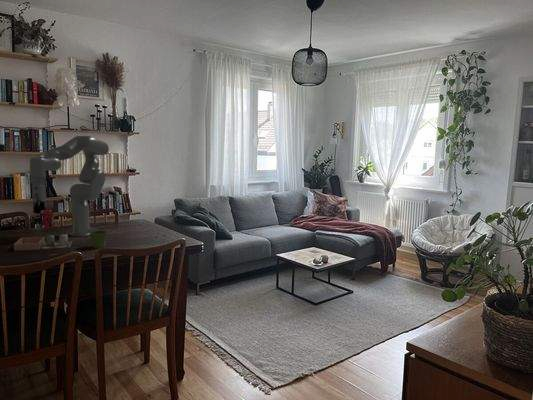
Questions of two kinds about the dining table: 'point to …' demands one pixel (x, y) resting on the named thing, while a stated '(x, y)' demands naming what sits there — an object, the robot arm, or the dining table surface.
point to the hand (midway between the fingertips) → (39, 211)
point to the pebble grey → (63, 240)
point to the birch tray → (56, 245)
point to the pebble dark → (50, 240)
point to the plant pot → (98, 238)
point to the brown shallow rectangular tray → (29, 243)
